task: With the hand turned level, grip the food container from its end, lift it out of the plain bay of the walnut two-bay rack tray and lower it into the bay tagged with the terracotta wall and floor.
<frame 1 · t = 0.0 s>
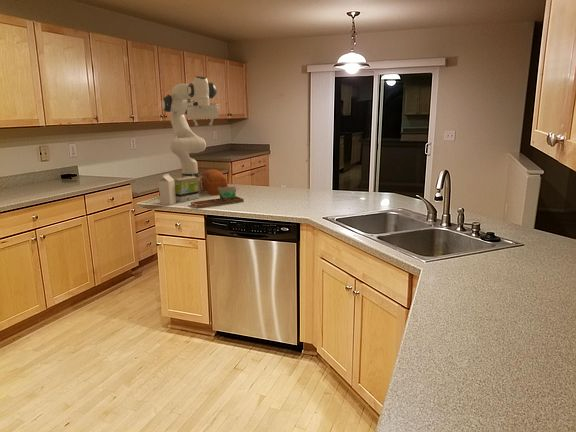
hand: (203, 125, 272), 48 cm above the worktop, tool pointing down, fingers open, 8 cm apart
tea box: (186, 199, 285), on the worktop
food container: (228, 202, 276), resting in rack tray
bread: (214, 191, 314), on the worktop
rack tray: (217, 203, 272), on the worktop
milk carton: (168, 204, 273), on the worktop
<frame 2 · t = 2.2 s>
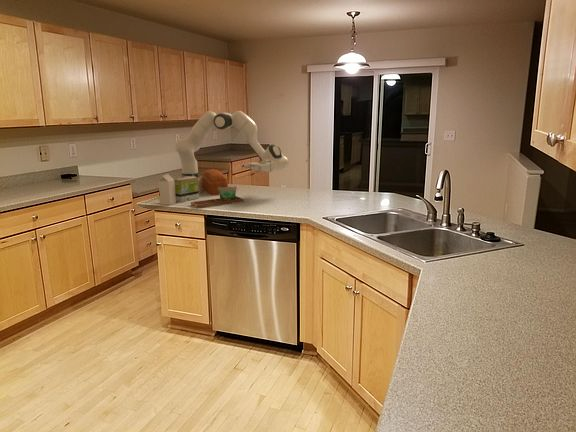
hand: (247, 167, 278), 21 cm above the worktop, tool horizontal, fingers open, 8 cm apart
nothing on the worktop moved.
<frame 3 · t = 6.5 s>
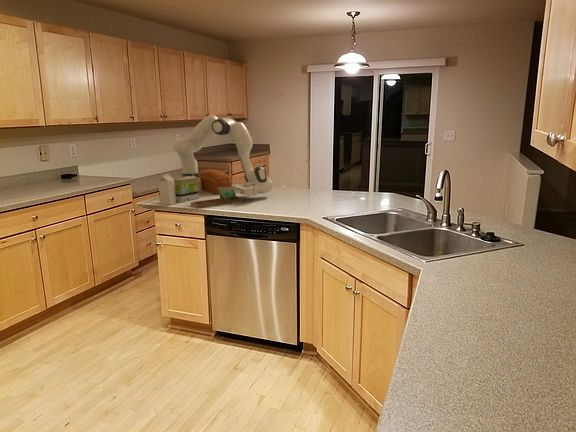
hand: (231, 190, 275), 7 cm above the worktop, tool horizontal, fingers closed on food container, 5 cm apart
food container: (228, 202, 276), resting in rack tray, touching gripper
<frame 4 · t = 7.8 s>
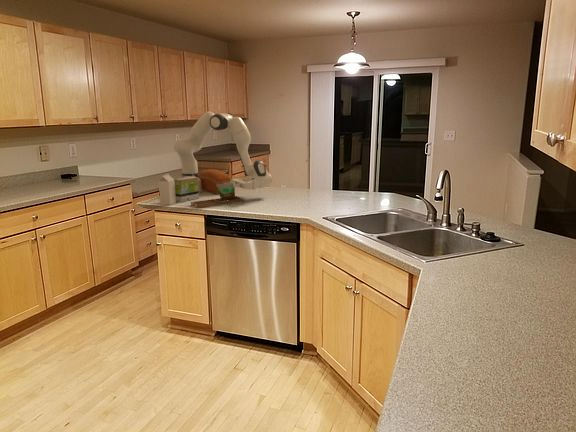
hand: (230, 184, 274), 11 cm above the worktop, tool horizontal, fingers closed on food container, 5 cm apart
food container: (228, 198, 275), point 2 cm above the worktop, touching gripper
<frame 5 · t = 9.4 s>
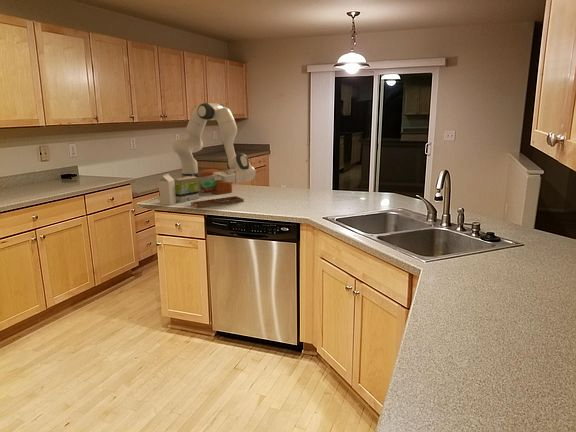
hand: (211, 178, 266), 17 cm above the worktop, tool horizontal, fingers closed on food container, 5 cm apart
food container: (210, 191, 267), point 8 cm above the worktop, touching gripper
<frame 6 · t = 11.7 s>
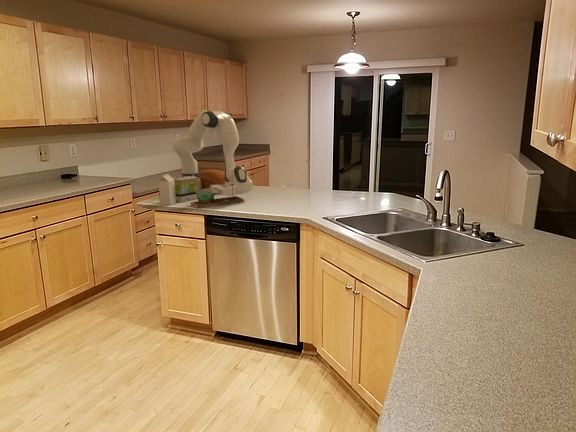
hand: (209, 191, 267), 9 cm above the worktop, tool horizontal, fingers closed on food container, 5 cm apart
food container: (207, 204, 268), resting on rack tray, touching gripper
when the fingers open (9 cm above the worktop, at t = 11.8 s): food container stays where it is, resting on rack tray.
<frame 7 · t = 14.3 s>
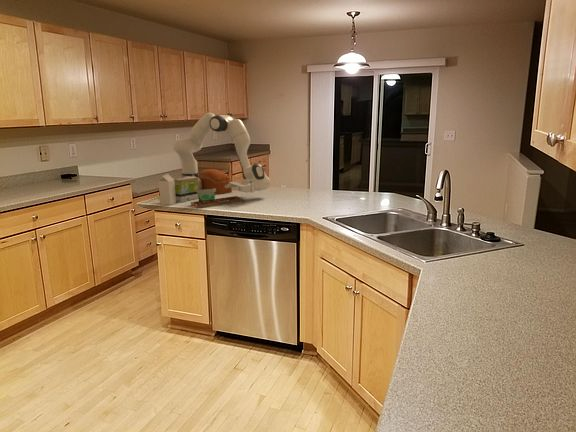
hand: (228, 187, 274), 9 cm above the worktop, tool horizontal, fingers open, 8 cm apart
food container: (207, 205, 268), resting on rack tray
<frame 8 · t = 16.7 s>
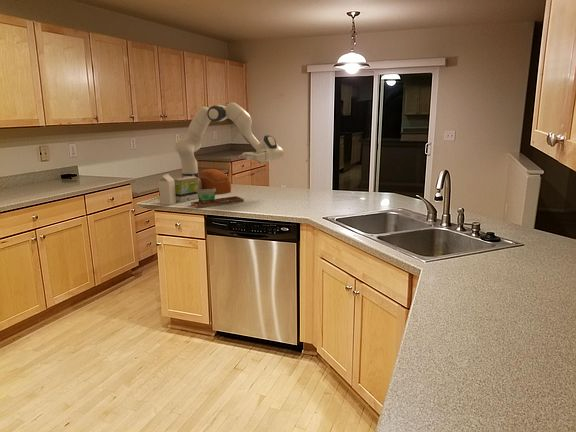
hand: (242, 157, 275), 28 cm above the worktop, tool horizontal, fingers open, 8 cm apart
at the end: food container 0.8 cm from the target spot on the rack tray, point 0.0 cm above the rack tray's base; food container tilted 0°; the gripper is holding nothing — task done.
